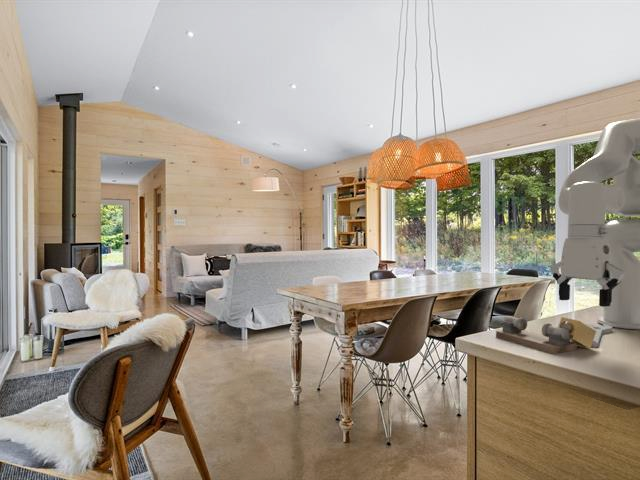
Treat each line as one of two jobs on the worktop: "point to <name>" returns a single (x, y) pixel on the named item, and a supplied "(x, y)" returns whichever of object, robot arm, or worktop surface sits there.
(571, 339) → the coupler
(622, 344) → the worktop surface
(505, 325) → the shaft stand
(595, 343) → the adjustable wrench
